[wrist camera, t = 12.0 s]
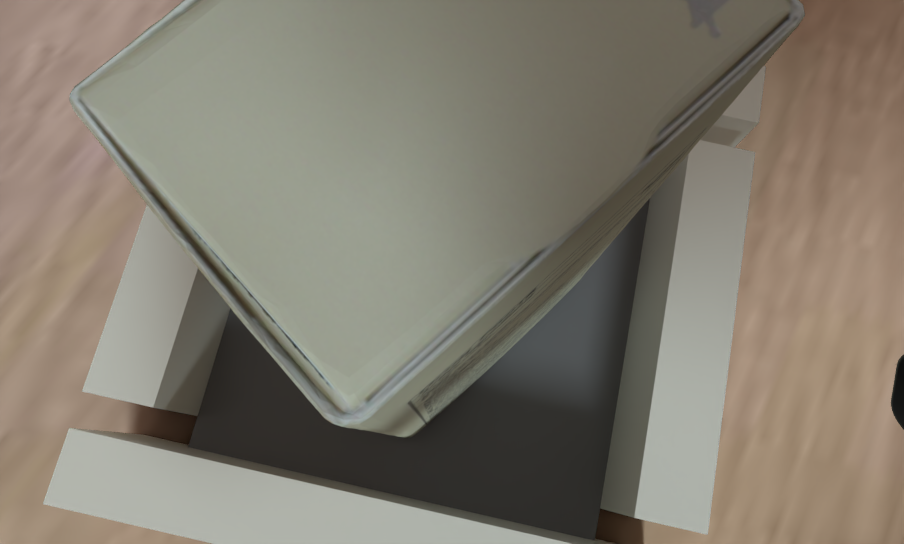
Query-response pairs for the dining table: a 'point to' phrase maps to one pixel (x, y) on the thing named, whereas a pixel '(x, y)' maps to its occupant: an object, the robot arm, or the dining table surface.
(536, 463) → the socket block
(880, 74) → the dining table surface
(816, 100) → the dining table surface
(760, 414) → the dining table surface
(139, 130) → the skincare box
